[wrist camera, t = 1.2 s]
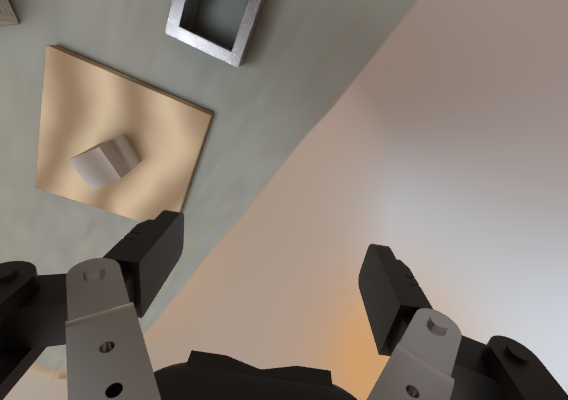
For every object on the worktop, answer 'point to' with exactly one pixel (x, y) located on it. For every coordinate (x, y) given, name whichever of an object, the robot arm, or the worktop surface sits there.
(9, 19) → the supplement box
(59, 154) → the post stand
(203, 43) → the steel collar
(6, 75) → the worktop surface
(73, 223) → the worktop surface
